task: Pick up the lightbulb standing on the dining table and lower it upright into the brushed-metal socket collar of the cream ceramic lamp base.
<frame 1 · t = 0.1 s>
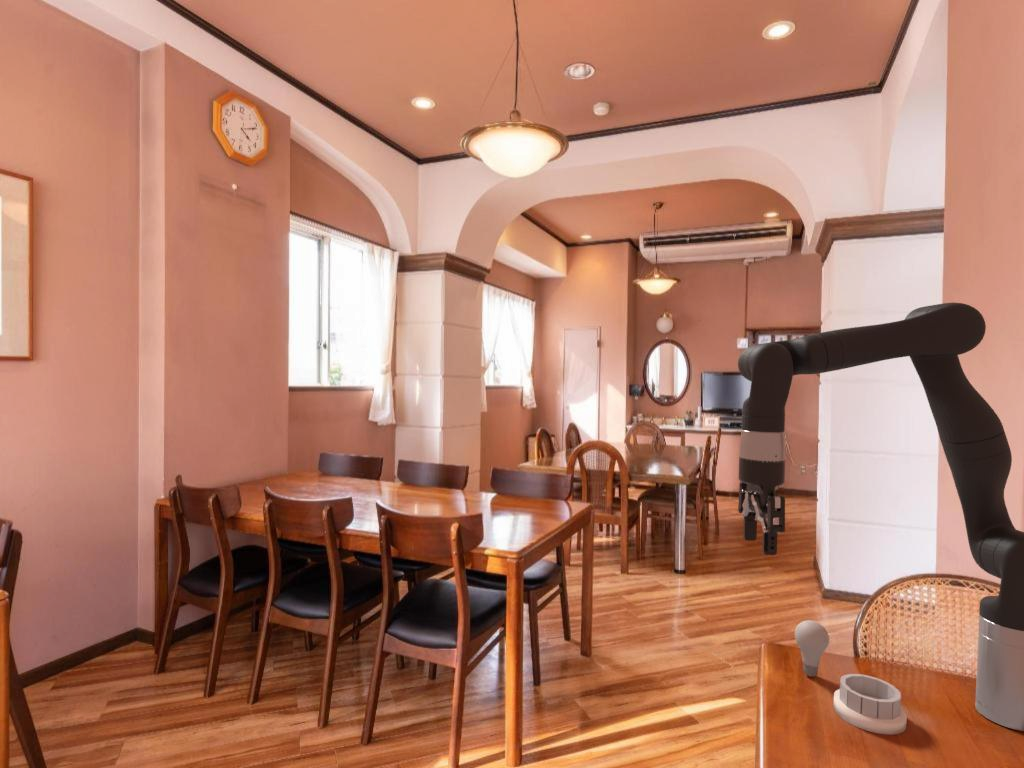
hand: (759, 546, 104), 29 cm above the table, fingers open, 8 cm apart
lightbulb: (810, 677, 117), on the table
lamp base: (868, 715, 104), on the table
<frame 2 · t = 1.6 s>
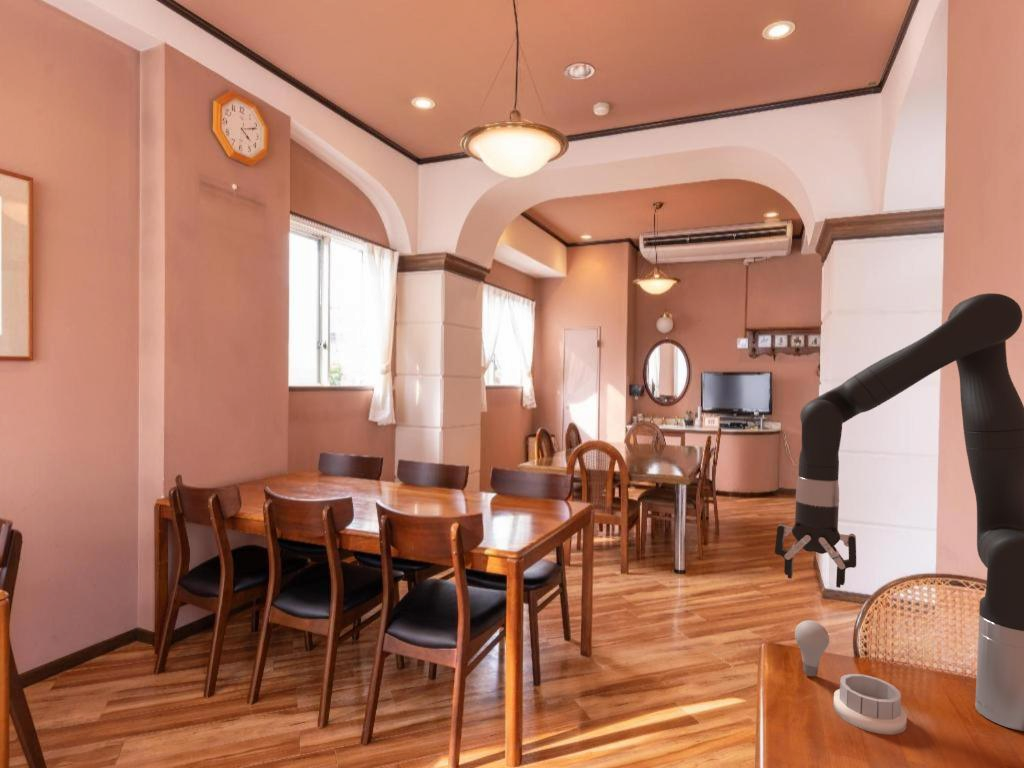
hand: (813, 581, 116), 19 cm above the table, fingers open, 8 cm apart
nothing on the table moved.
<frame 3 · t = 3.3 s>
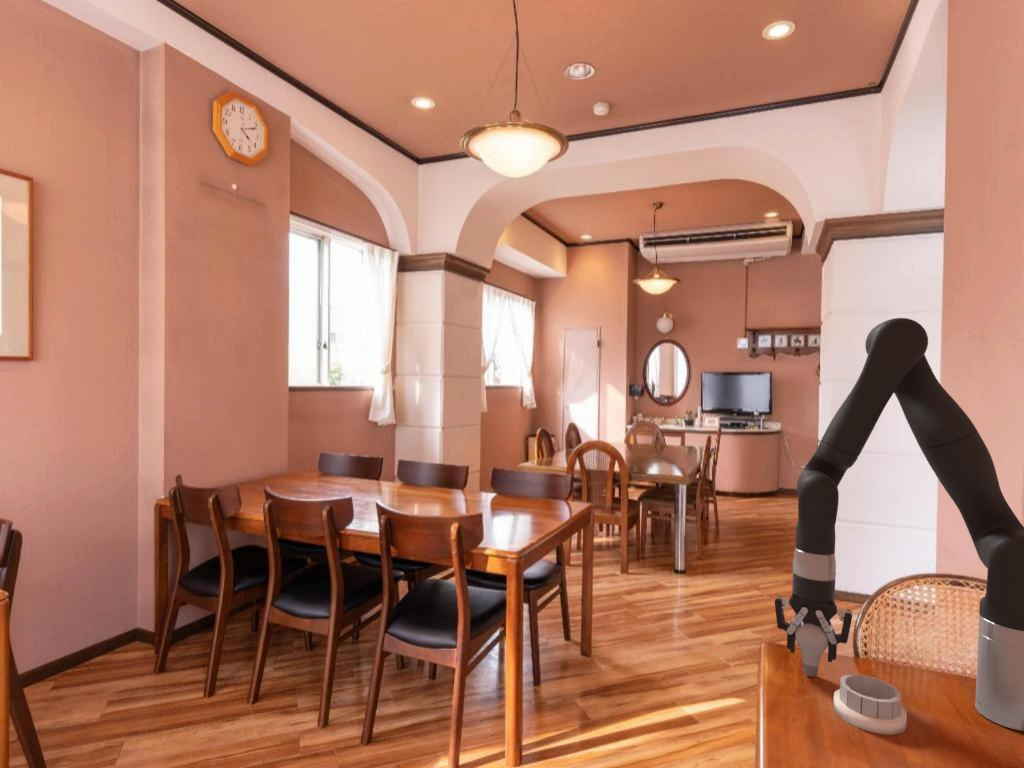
hand: (810, 655, 117), 4 cm above the table, fingers closed on lightbulb, 6 cm apart
lightbulb: (810, 677, 117), on the table, touching gripper
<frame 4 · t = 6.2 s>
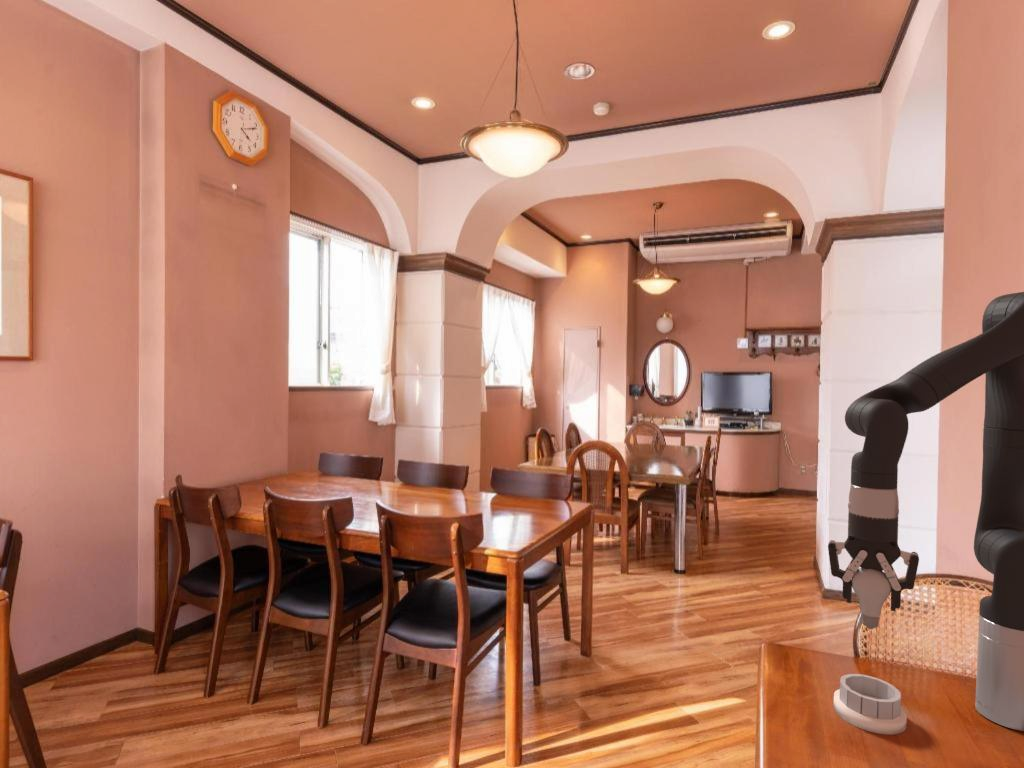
hand: (870, 605, 104), 19 cm above the table, fingers closed on lightbulb, 6 cm apart
lightbulb: (869, 629, 104), point 15 cm above the table, touching gripper
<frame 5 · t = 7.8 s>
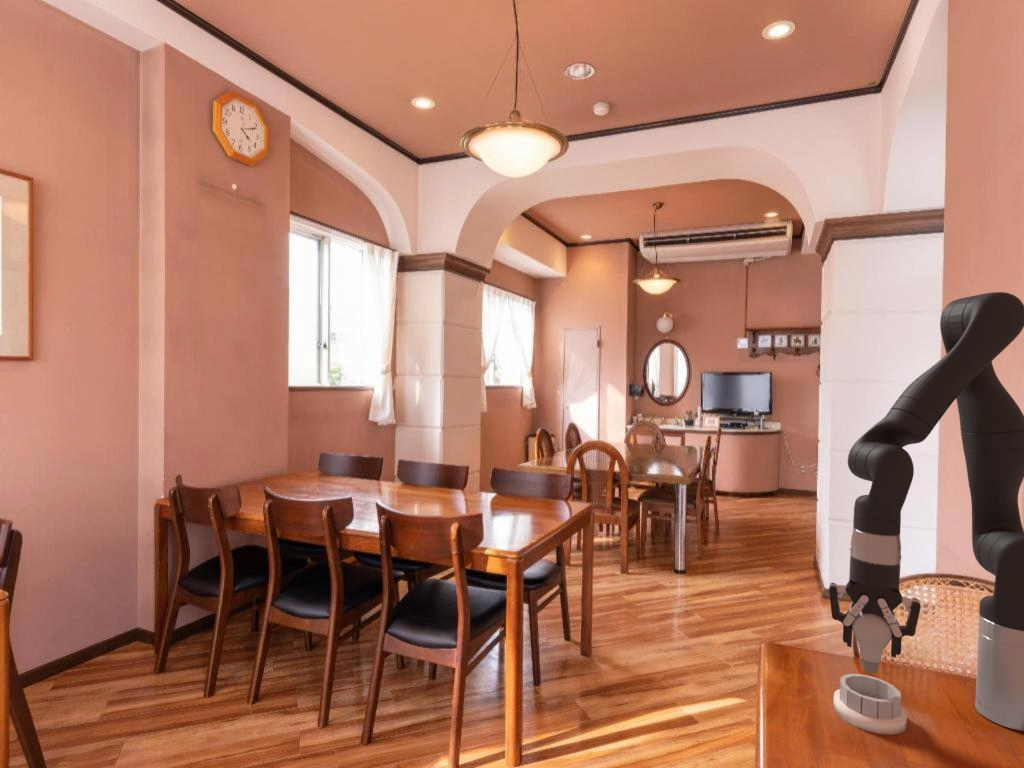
hand: (870, 649, 104), 12 cm above the table, fingers closed on lightbulb, 6 cm apart
lightbulb: (869, 674, 104), point 7 cm above the table, touching gripper
when the fingers open (7 cm above the table, at t = 9.2 s): lightbulb stays where it is, resting on lamp base.
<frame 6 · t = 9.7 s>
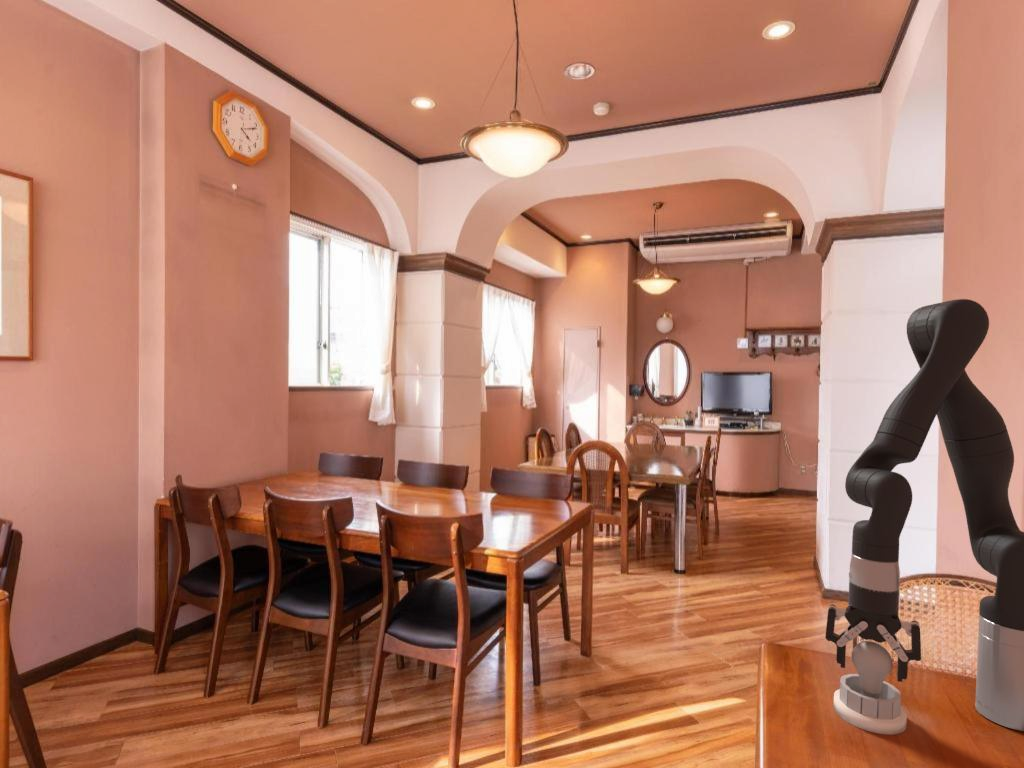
hand: (870, 672, 104), 8 cm above the table, fingers open, 8 cm apart
lightbulb: (869, 705, 104), point 2 cm above the table, touching lamp base
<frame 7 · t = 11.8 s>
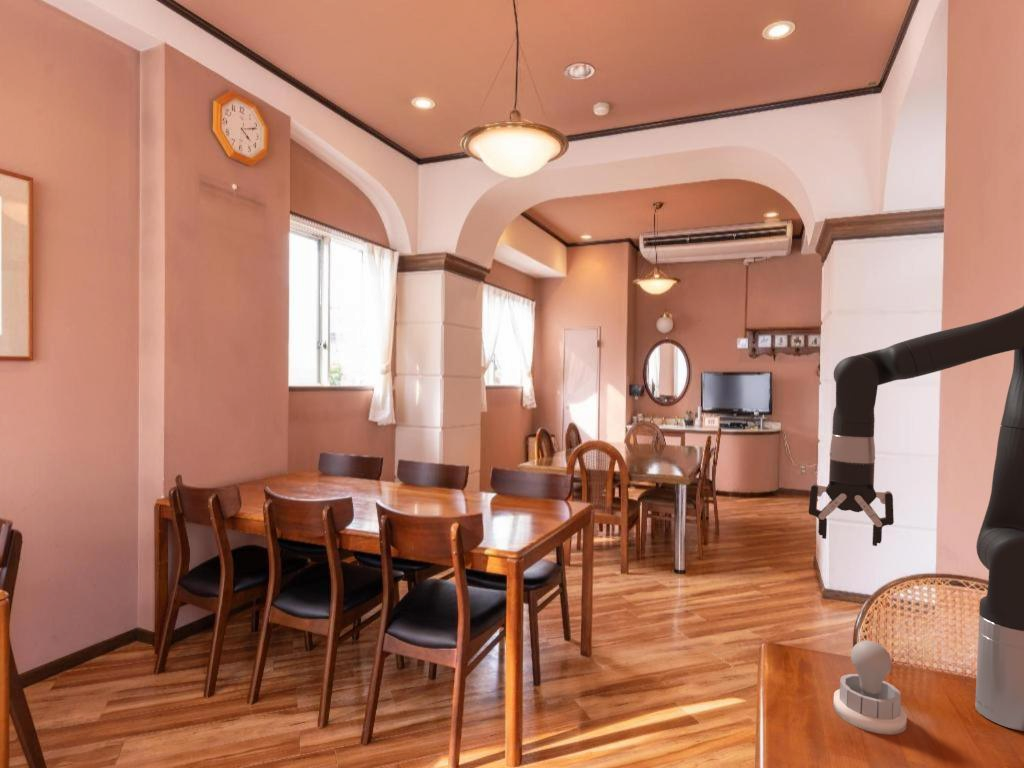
hand: (848, 541, 114), 28 cm above the table, fingers open, 8 cm apart
nothing on the table moved.
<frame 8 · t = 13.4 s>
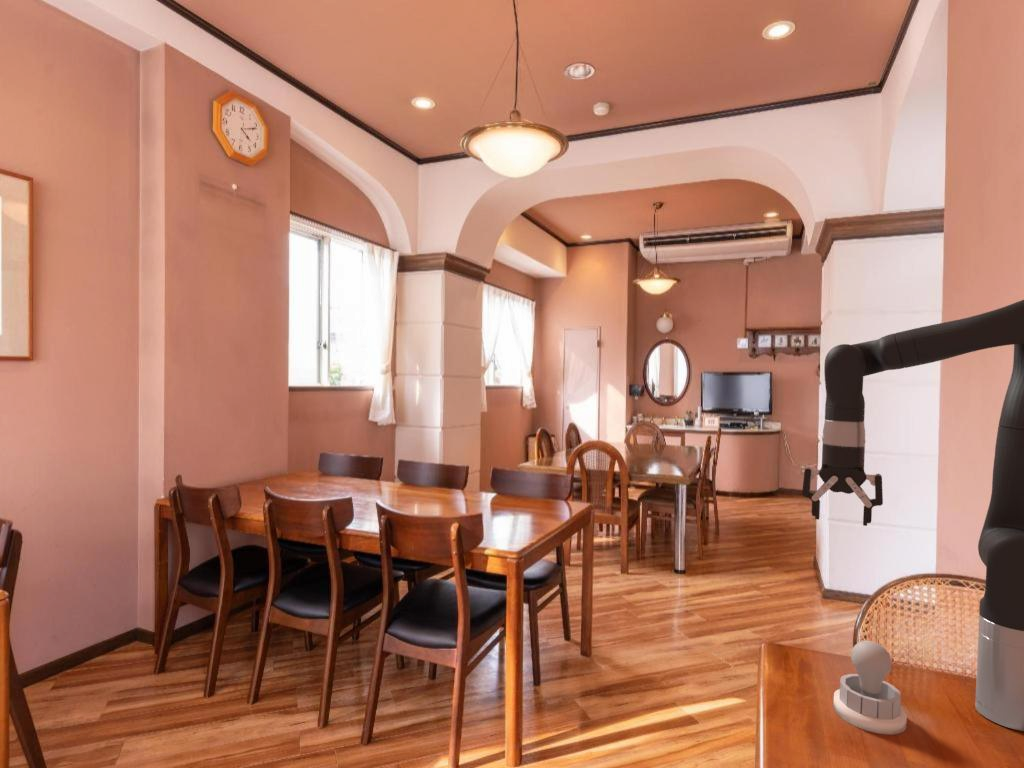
hand: (840, 521, 120), 30 cm above the table, fingers open, 8 cm apart
nothing on the table moved.
at the end: lightbulb 0.1 cm off-centre on the lamp base, point 1.8 cm above the lamp base's base; lightbulb tilted 0°; the gripper is holding nothing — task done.
